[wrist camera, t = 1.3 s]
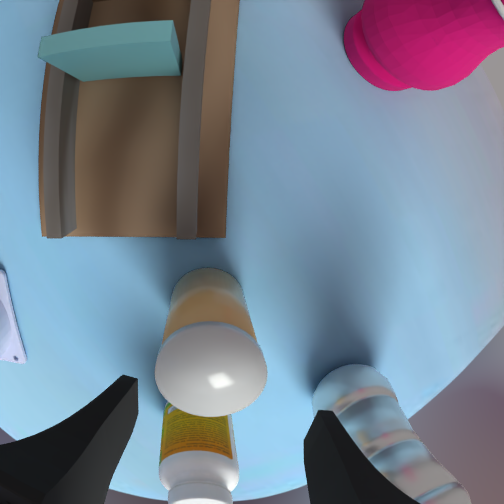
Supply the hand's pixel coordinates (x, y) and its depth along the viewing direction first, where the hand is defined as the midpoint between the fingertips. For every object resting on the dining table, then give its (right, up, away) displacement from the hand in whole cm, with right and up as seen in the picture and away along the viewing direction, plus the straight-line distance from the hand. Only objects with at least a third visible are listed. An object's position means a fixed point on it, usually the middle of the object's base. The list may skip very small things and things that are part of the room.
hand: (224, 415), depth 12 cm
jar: (-2, +3, +10) cm, 10 cm away
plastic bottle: (+9, -5, +14) cm, 17 cm away
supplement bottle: (-3, -6, +12) cm, 14 cm away
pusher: (-6, +17, +4) cm, 18 cm away
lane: (-6, +16, +5) cm, 17 cm away
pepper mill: (+10, +20, +6) cm, 23 cm away
